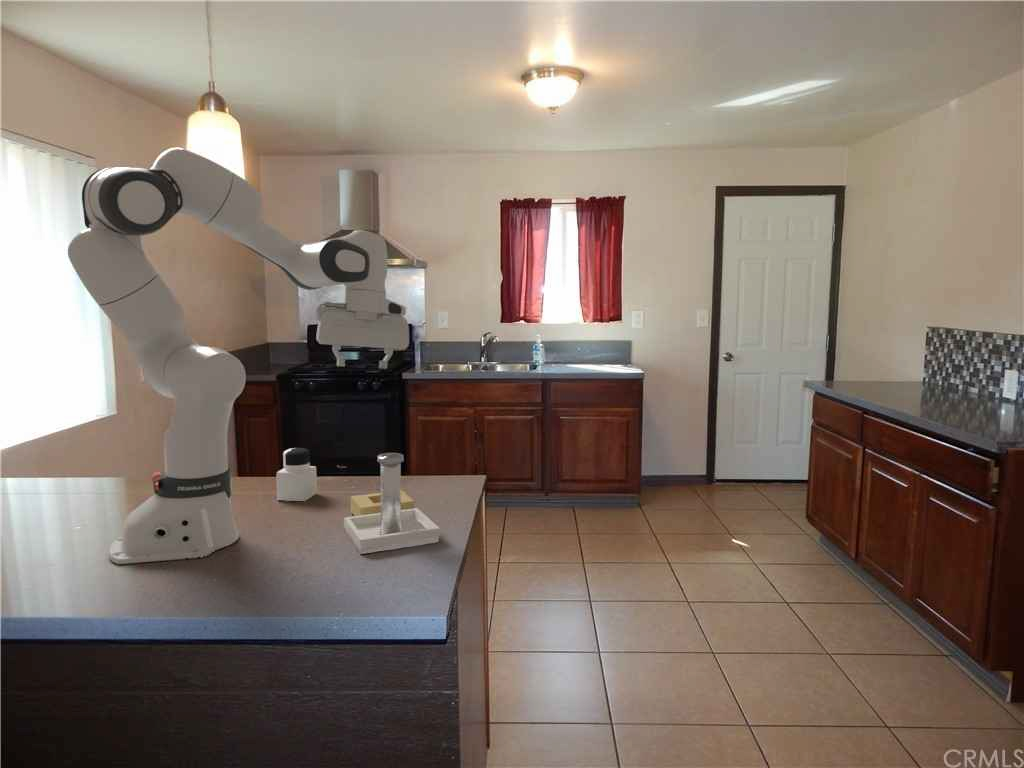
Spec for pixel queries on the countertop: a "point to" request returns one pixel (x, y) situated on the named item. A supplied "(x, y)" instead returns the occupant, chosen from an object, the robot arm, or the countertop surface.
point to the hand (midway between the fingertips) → (362, 367)
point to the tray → (368, 530)
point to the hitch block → (375, 503)
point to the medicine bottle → (296, 476)
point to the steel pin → (390, 492)
